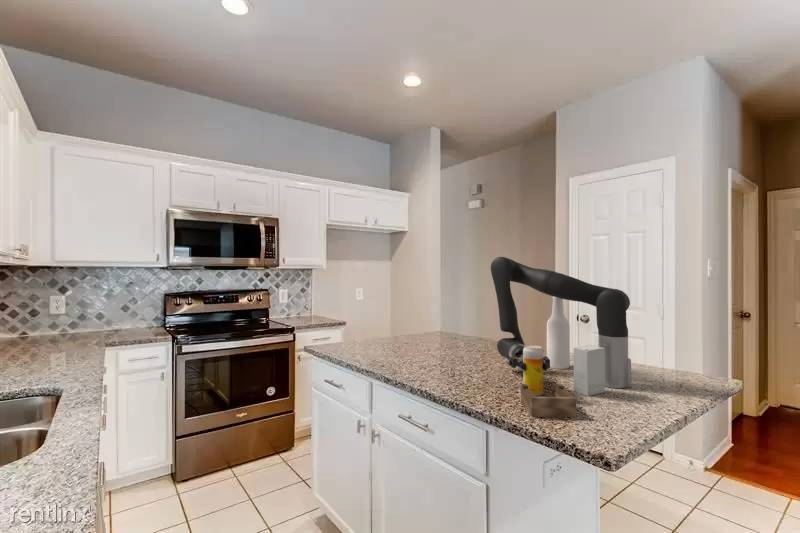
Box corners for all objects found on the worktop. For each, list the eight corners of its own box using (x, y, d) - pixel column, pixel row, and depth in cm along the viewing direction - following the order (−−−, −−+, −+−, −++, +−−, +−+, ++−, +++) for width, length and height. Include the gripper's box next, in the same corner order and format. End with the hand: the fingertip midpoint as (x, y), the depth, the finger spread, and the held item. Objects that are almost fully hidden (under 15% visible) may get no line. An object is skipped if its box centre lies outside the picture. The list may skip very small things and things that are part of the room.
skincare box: (590, 388, 139) (590, 344, 139) (606, 393, 133) (605, 347, 133) (572, 391, 135) (572, 346, 135) (588, 396, 130) (587, 349, 130)
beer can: (544, 397, 128) (544, 349, 128) (524, 396, 130) (524, 348, 130) (541, 391, 134) (541, 345, 134) (522, 390, 135) (522, 344, 135)
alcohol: (567, 364, 173) (566, 293, 173) (571, 370, 164) (571, 294, 164) (545, 364, 174) (544, 293, 174) (548, 369, 166) (548, 294, 166)
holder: (561, 403, 123) (561, 383, 123) (576, 417, 112) (576, 395, 112) (520, 402, 124) (520, 383, 124) (531, 416, 112) (531, 395, 112)
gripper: (501, 345, 147) (512, 355, 130) (542, 345, 146) (558, 355, 129) (501, 366, 146) (512, 379, 130) (542, 366, 146) (558, 379, 129)
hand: (535, 367), depth 130 cm, fingers closed on beer can, 6 cm apart
